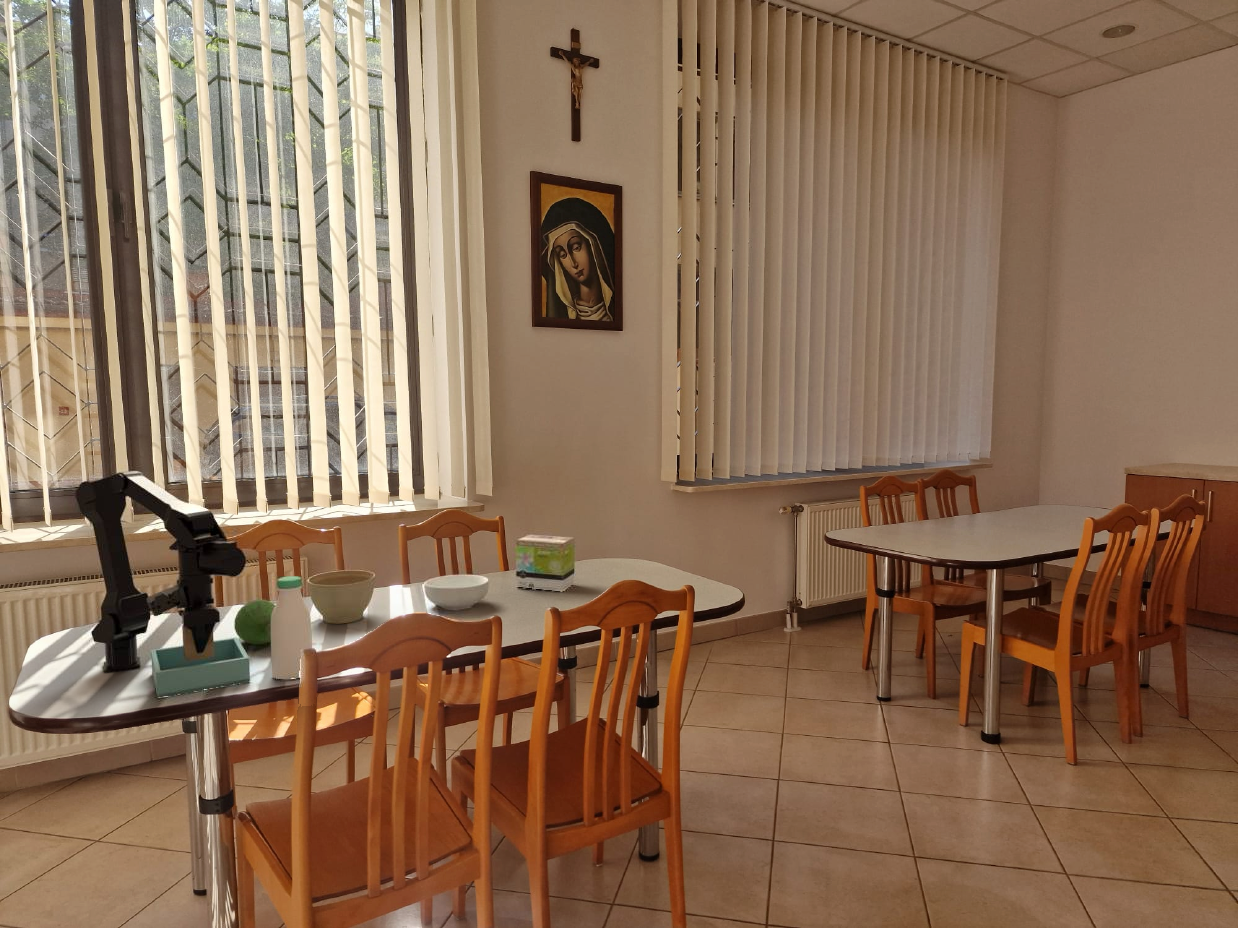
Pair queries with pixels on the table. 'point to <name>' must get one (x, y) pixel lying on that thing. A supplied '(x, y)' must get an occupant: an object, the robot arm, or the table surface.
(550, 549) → the tea box
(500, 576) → the table surface
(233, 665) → the teal bin
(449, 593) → the cereal bowl
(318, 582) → the planter bowl
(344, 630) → the table surface
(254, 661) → the table surface
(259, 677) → the table surface
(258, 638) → the fruit
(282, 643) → the milk bottle
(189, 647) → the walnut block
